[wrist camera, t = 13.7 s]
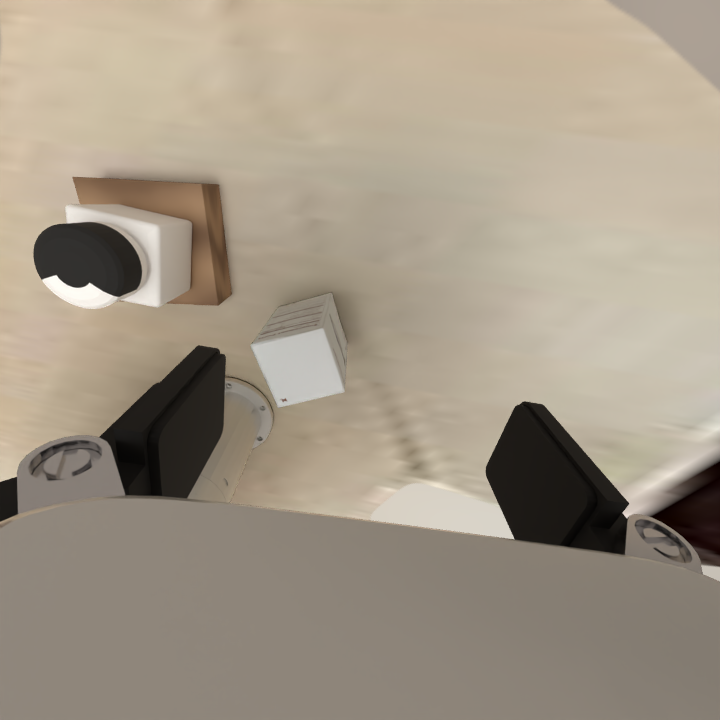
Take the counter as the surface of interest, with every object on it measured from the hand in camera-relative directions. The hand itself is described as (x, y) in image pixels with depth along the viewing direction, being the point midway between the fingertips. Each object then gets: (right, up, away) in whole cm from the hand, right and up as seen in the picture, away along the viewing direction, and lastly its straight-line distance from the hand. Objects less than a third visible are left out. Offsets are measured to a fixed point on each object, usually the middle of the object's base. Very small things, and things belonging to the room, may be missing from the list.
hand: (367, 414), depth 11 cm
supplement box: (-6, +6, +33) cm, 34 cm away
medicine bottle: (-21, +13, +24) cm, 35 cm away
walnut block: (-22, +16, +29) cm, 39 cm away
